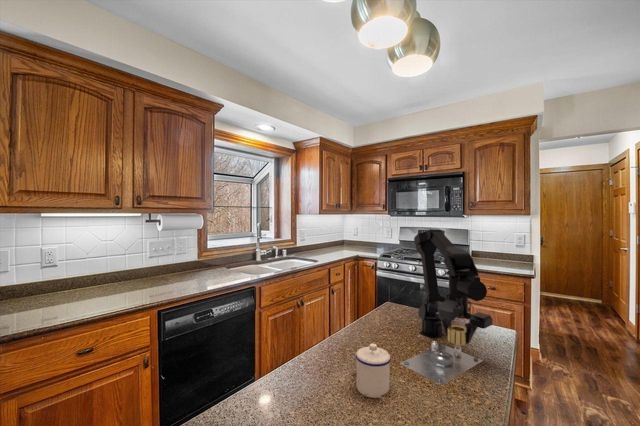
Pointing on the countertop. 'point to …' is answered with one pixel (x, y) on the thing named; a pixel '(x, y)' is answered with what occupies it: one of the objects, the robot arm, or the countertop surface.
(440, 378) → the carrier plate
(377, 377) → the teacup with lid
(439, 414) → the countertop surface
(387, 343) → the countertop surface
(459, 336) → the planet gear
